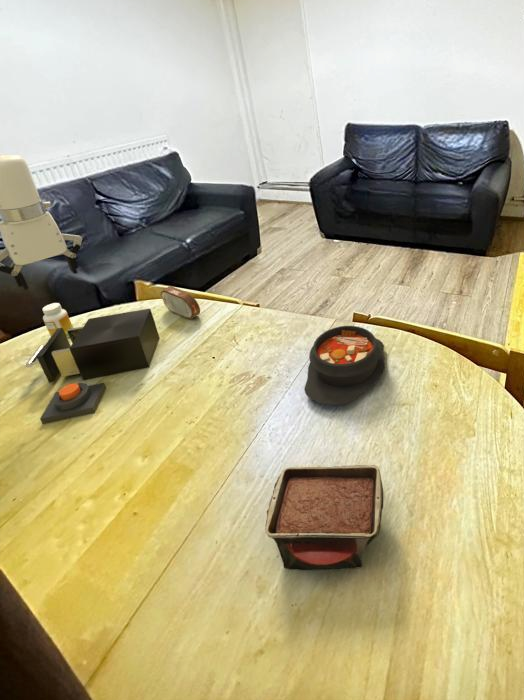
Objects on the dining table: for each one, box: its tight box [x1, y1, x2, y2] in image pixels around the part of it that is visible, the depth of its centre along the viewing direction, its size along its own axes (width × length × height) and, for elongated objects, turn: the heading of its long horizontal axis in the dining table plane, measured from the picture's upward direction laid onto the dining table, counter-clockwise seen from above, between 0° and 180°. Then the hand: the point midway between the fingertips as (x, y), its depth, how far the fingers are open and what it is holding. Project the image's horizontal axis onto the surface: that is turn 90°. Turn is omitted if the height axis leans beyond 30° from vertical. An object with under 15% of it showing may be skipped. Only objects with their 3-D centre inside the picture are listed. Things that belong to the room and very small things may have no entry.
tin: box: [160, 285, 201, 320], centre depth 124 cm, size 15×3×8 cm, turn 59°
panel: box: [39, 382, 107, 425], centre depth 93 cm, size 10×8×4 cm
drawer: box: [25, 325, 84, 384], centre depth 104 cm, size 18×12×8 cm, turn 106°
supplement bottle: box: [42, 302, 74, 339], centre depth 116 cm, size 5×5×10 cm
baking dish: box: [264, 464, 384, 571], centre depth 65 cm, size 14×18×10 cm
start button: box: [58, 382, 81, 401], centre depth 92 cm, size 4×4×2 cm
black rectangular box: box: [69, 308, 160, 382], centre depth 106 cm, size 15×13×10 cm
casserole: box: [303, 325, 386, 406], centre depth 98 cm, size 25×19×8 cm
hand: (50, 279), depth 98 cm, fingers open, 9 cm apart
